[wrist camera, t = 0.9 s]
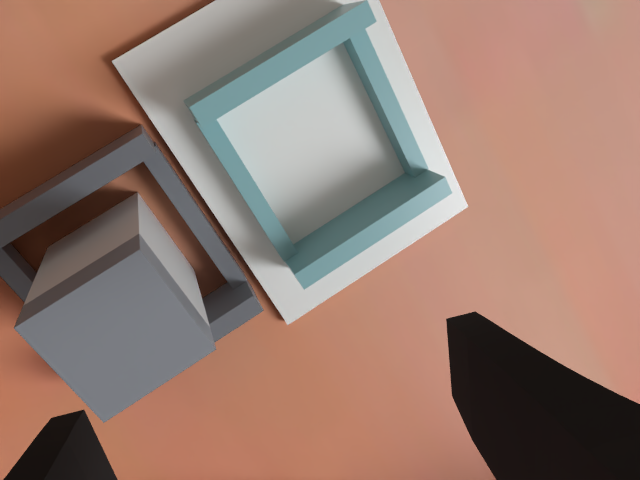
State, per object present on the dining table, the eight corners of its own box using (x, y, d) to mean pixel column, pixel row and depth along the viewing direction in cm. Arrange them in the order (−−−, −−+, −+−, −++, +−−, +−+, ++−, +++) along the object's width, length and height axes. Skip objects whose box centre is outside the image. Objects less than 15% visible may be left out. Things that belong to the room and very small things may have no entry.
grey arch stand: (107, 379, 24) (105, 413, 22) (-30, 227, 21) (-50, 249, 19) (252, 285, 25) (264, 310, 23) (142, 123, 22) (143, 132, 19)
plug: (111, 321, 24) (103, 422, 17) (47, 246, 22) (13, 328, 16) (193, 269, 24) (216, 349, 18) (137, 191, 22) (139, 249, 16)
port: (285, 321, 26) (302, 352, 23) (111, 60, 21) (108, 63, 18) (463, 204, 27) (499, 221, 24) (342, -74, 21) (371, -91, 19)
